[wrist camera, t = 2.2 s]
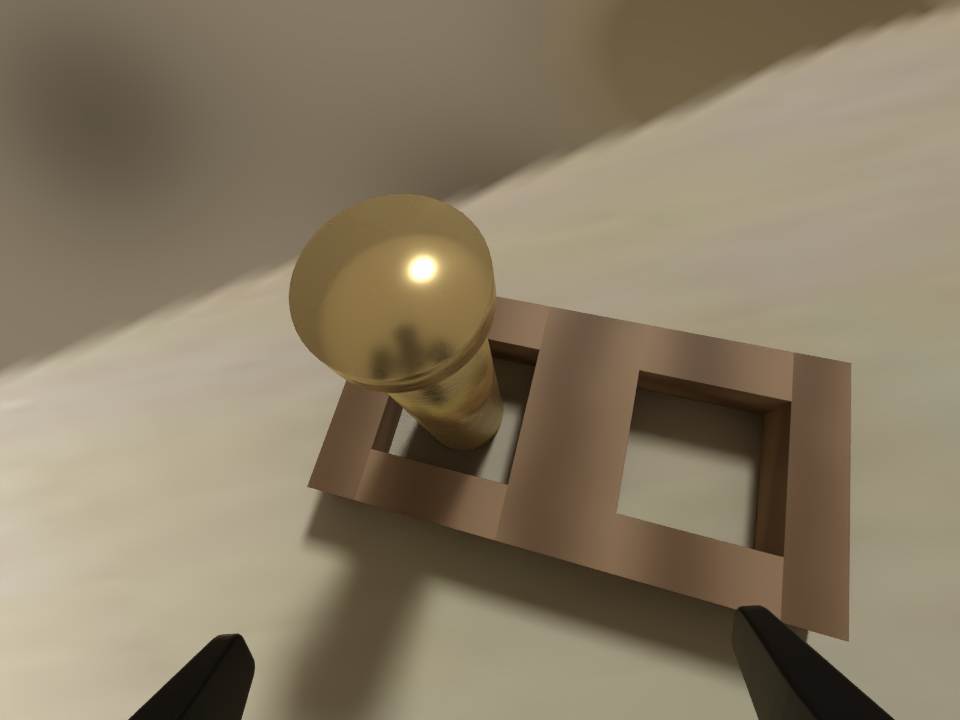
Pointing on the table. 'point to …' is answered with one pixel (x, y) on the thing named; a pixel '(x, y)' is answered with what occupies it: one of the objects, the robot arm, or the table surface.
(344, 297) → the brass bolt
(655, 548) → the template plate
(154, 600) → the table surface
